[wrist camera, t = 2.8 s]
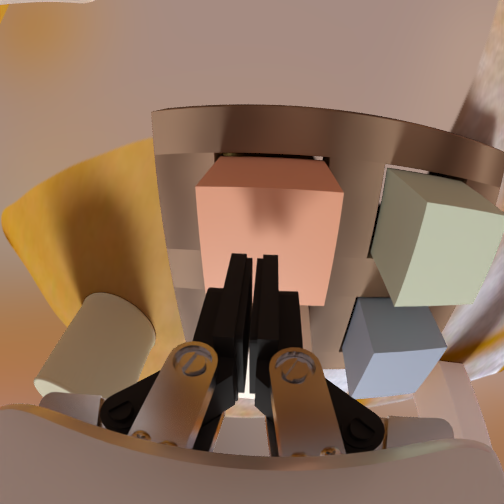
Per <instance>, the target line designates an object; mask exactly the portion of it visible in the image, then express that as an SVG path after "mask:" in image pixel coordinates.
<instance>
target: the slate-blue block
mask: <svg viewBox="0 0 504 504" xmlns="http://www.w3.org/2000/svg"><path fill="white" fill-rule="evenodd" d="M446 349H447V345H446V343H445V340H444V338H443V336H442V334H441V332H440V330H439V328H438V325H437V323H436V321H435V319H434V317H433V315H432V313H431V311H430V309H429V307H428V306H403V307H394V305H393V302H392V300H391V298H382V297H358V300H357V303H356V306H355V310H354V313H353V316H352V319H351V322H350V325H349V328H348V331H347V334H346V337H345V340H344V343H343V346H342V351H343V357H344V363H345V369H346V376H347V383H348V390H349V396H351V397H352V398H354V399H363V398H375V397H385V396H394V395H402V394H410V393H415V392H416V391H417V389H418V388H419V387H420V386H421V384H422V383H423V382H424V380H425V379H426V378H427V376H428V375H429V374H430V372H431V371H432V369H433V368H434V367H435V365H436V364H437V362H438V361H439V359H440V358H441V356H442V355H443V353H444V352H445V350H446Z"/></svg>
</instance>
